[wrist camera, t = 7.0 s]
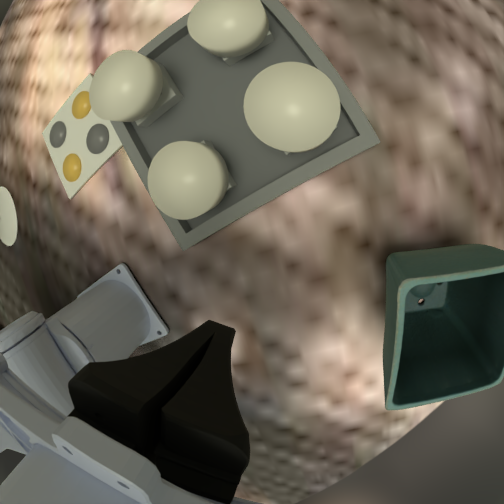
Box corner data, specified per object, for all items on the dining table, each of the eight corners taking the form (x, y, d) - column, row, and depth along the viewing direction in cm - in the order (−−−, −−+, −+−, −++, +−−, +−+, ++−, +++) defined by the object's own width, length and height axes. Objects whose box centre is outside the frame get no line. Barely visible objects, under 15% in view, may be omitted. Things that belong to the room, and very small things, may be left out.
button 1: (282, 167, 18) (274, 169, 14) (242, 103, 17) (226, 92, 14) (350, 131, 16) (358, 124, 13) (308, 66, 15) (306, 46, 12)
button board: (191, 245, 23) (181, 252, 21) (107, 94, 20) (94, 91, 19) (375, 143, 18) (381, 142, 16) (257, -15, 15) (252, -26, 13)
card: (71, 198, 24) (68, 199, 24) (44, 133, 23) (40, 133, 22) (126, 142, 21) (123, 142, 21) (92, 73, 20) (88, 72, 19)
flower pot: (366, 231, 20) (398, 281, 11) (468, 221, 17) (535, 260, 9) (368, 333, 22) (383, 413, 14) (458, 319, 20) (500, 385, 11)
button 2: (226, 75, 18) (209, 61, 14) (195, 32, 17) (175, 16, 14) (285, 41, 16) (279, 21, 13) (249, 0, 15) (238, -22, 12)
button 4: (134, 136, 19) (104, 135, 16) (110, 91, 18) (81, 85, 15) (184, 95, 17) (159, 85, 14) (155, 50, 16) (130, 36, 13)
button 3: (193, 221, 22) (171, 233, 18) (161, 167, 21) (135, 170, 18) (247, 188, 20) (234, 194, 17) (212, 129, 19) (192, 125, 16)
